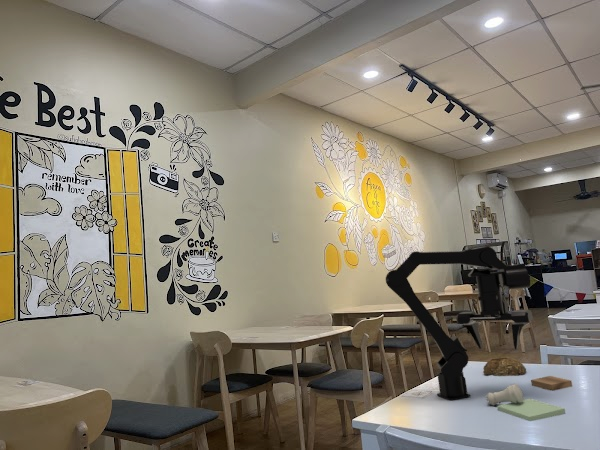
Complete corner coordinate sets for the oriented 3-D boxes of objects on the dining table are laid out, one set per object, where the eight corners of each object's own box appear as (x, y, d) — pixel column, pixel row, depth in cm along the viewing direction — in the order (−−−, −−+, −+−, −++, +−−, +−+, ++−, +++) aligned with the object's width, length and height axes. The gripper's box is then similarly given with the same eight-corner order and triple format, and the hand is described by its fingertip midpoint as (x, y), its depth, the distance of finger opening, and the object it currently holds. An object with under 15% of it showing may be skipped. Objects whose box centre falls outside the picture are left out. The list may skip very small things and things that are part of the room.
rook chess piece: (522, 389, 108) (492, 396, 113) (513, 379, 107) (482, 387, 112) (525, 406, 105) (494, 412, 110) (515, 396, 104) (484, 403, 108)
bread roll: (520, 367, 147) (518, 352, 148) (530, 376, 135) (527, 359, 136) (480, 369, 150) (478, 354, 151) (486, 378, 138) (483, 362, 139)
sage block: (531, 426, 96) (529, 416, 97) (498, 414, 106) (497, 405, 106) (566, 417, 99) (564, 408, 100) (531, 406, 109) (529, 398, 109)
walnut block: (552, 392, 118) (551, 384, 118) (532, 387, 124) (530, 379, 125) (572, 387, 120) (571, 380, 120) (551, 383, 126) (550, 375, 127)
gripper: (532, 287, 123) (541, 344, 121) (464, 291, 134) (472, 343, 132) (523, 290, 114) (533, 351, 112) (452, 294, 125) (460, 350, 123)
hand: (498, 348), depth 120 cm, fingers open, 9 cm apart
